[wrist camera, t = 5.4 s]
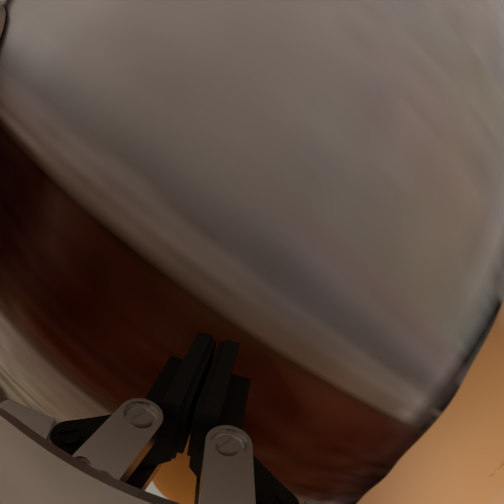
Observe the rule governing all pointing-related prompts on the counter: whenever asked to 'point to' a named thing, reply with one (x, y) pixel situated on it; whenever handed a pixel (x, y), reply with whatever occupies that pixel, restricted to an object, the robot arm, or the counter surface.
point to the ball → (177, 479)
